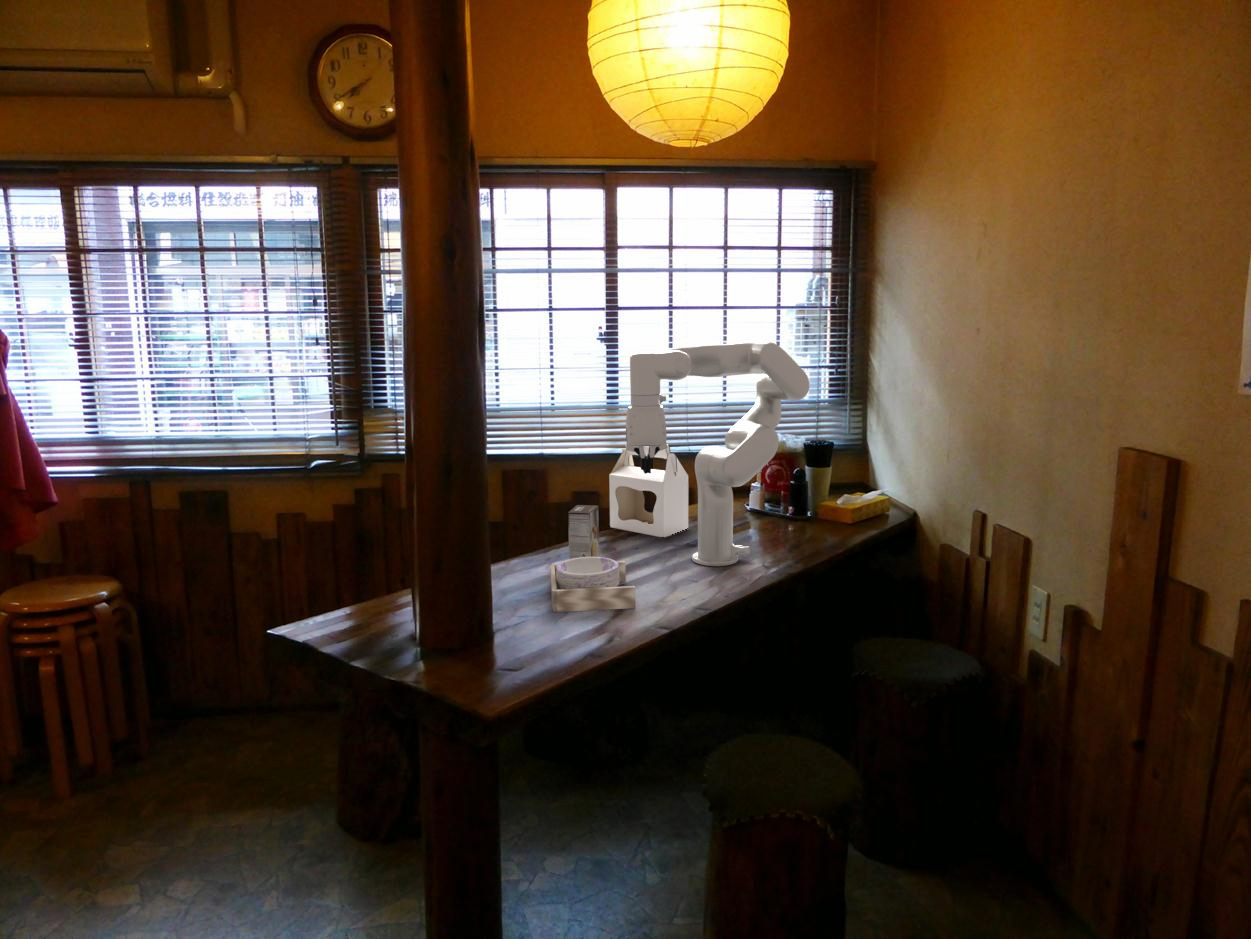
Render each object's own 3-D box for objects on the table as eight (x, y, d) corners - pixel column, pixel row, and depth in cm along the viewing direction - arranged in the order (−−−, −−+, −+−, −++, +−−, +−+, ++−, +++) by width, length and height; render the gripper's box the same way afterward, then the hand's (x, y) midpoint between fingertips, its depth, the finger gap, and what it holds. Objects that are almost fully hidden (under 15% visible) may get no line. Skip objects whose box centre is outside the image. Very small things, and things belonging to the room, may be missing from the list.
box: (625, 579, 207) (625, 561, 206) (635, 608, 186) (635, 587, 185) (550, 583, 204) (550, 564, 204) (552, 612, 184) (552, 591, 183)
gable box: (609, 527, 260) (607, 441, 255) (634, 519, 270) (633, 436, 265) (664, 538, 246) (664, 447, 241) (689, 529, 256) (689, 442, 251)
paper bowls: (547, 592, 198) (546, 561, 196) (602, 582, 205) (602, 552, 203) (572, 611, 185) (571, 577, 183) (630, 600, 191) (630, 568, 190)
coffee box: (577, 560, 224) (576, 504, 221) (600, 561, 222) (599, 505, 220) (568, 570, 215) (567, 511, 212) (592, 571, 214) (591, 512, 211)
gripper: (672, 398, 209) (672, 468, 212) (614, 401, 207) (616, 471, 210) (677, 401, 201) (678, 473, 205) (618, 404, 200) (619, 476, 203)
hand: (646, 472), depth 208 cm, fingers closed
